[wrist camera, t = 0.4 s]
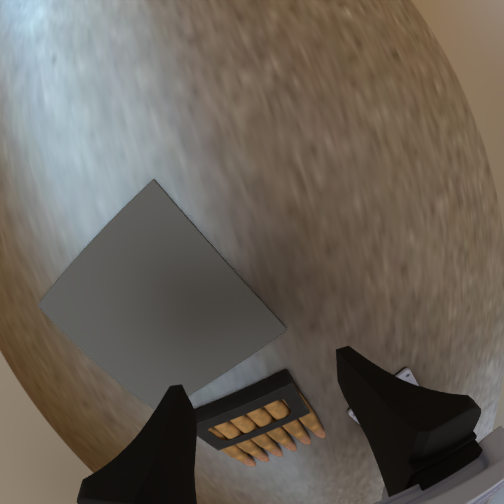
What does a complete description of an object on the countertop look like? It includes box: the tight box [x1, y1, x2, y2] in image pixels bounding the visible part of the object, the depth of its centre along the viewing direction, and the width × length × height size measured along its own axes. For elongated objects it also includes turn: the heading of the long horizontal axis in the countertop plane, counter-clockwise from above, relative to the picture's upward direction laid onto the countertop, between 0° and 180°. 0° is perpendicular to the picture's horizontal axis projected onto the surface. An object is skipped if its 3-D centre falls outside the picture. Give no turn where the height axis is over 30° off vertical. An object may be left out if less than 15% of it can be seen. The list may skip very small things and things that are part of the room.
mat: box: [38, 179, 287, 410], centre depth 22 cm, size 15×15×1 cm
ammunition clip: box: [195, 370, 326, 466], centre depth 26 cm, size 11×2×12 cm
